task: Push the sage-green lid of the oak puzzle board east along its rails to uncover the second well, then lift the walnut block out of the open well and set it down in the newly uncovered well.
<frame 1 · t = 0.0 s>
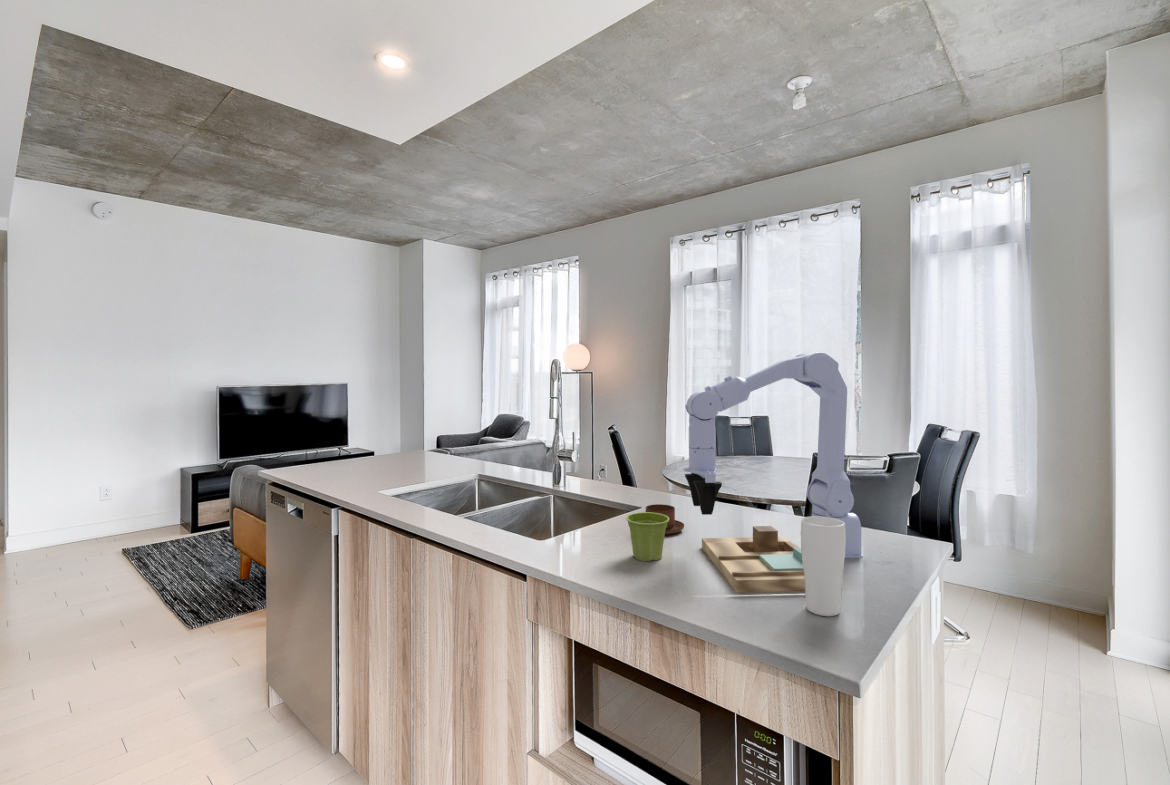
hand: (702, 509, 119), 10 cm above the worktop, tool pointing down, fingers open, 7 cm apart
block: (765, 556, 118), resting on board
board: (765, 567, 112), on the worktop
cup and saucer: (660, 532, 140), on the worktop
drinking glass: (822, 612, 91), on the worktop
lid: (787, 559, 106), point 4 cm above the worktop, slide at 0.0 cm
plant pot: (647, 558, 119), on the worktop
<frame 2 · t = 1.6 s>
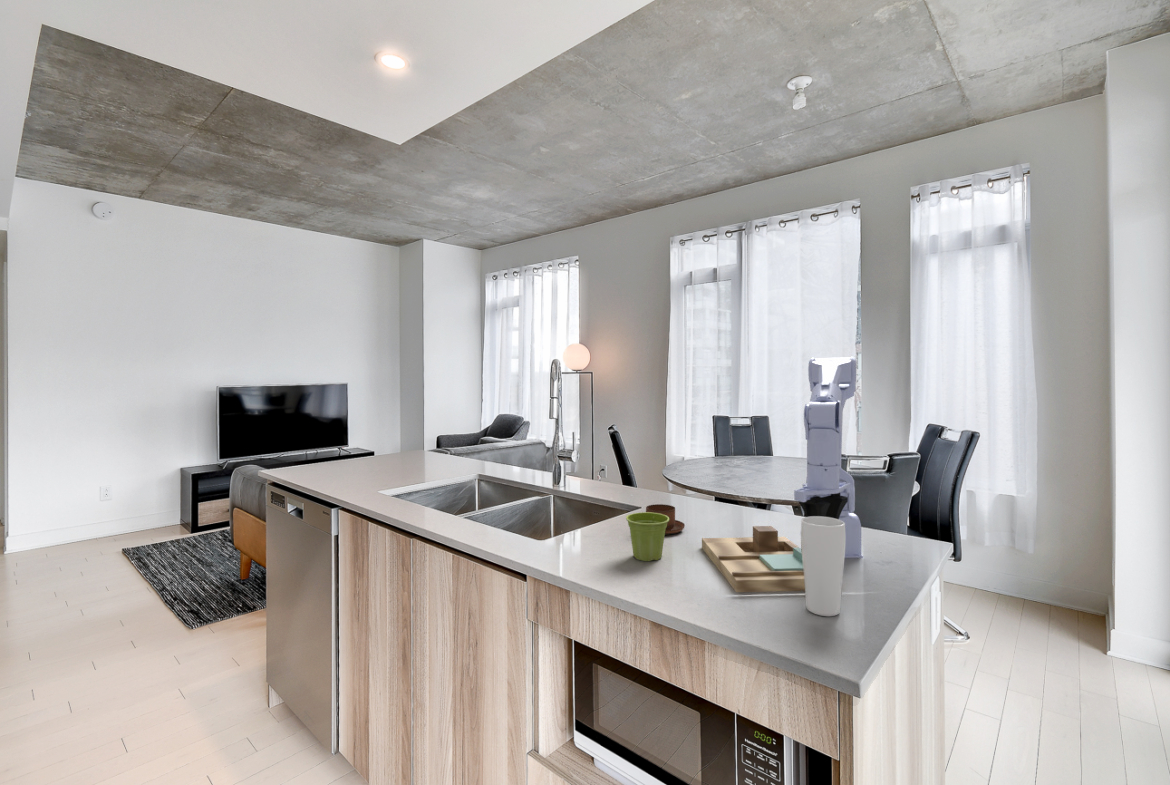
hand: (822, 534, 106), 8 cm above the worktop, tool pointing down, fingers open, 3 cm apart
nothing on the worktop moved.
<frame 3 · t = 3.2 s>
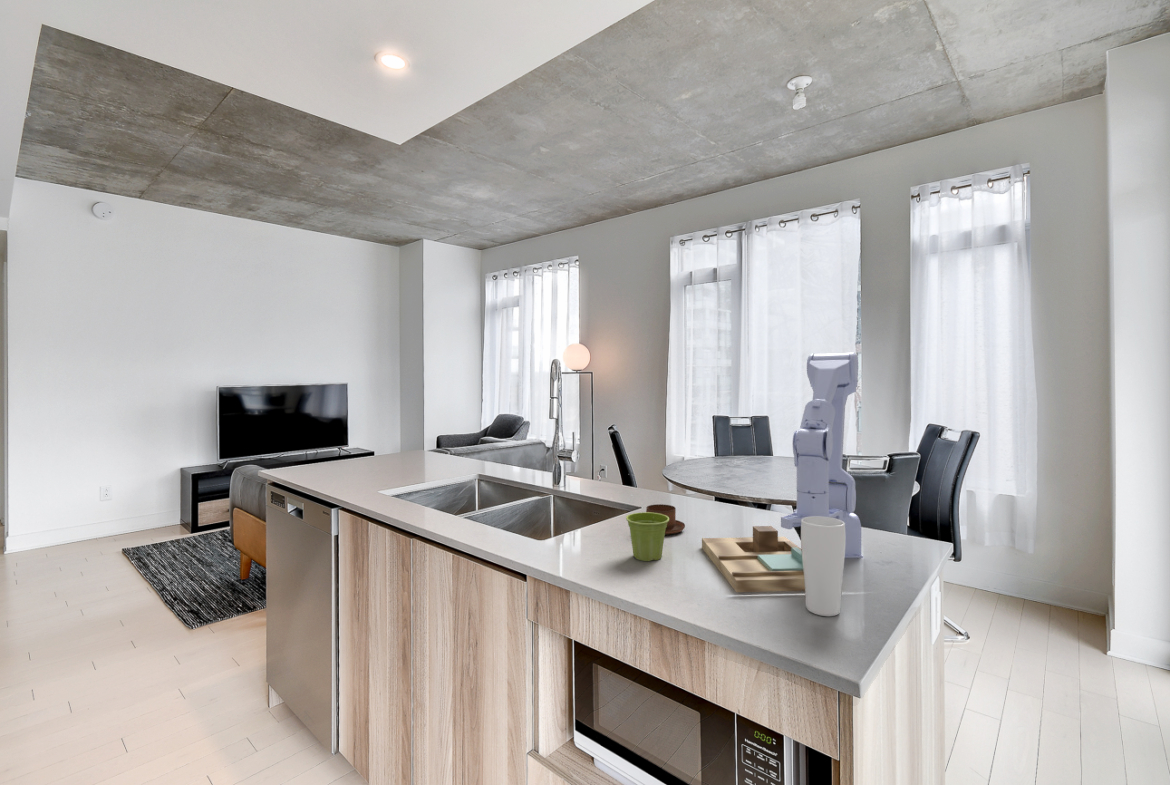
hand: (812, 561, 106), 3 cm above the worktop, tool pointing down, fingers closed
lid: (785, 559, 106), point 4 cm above the worktop, slide at 0.4 cm, touching gripper
everything else where it was.
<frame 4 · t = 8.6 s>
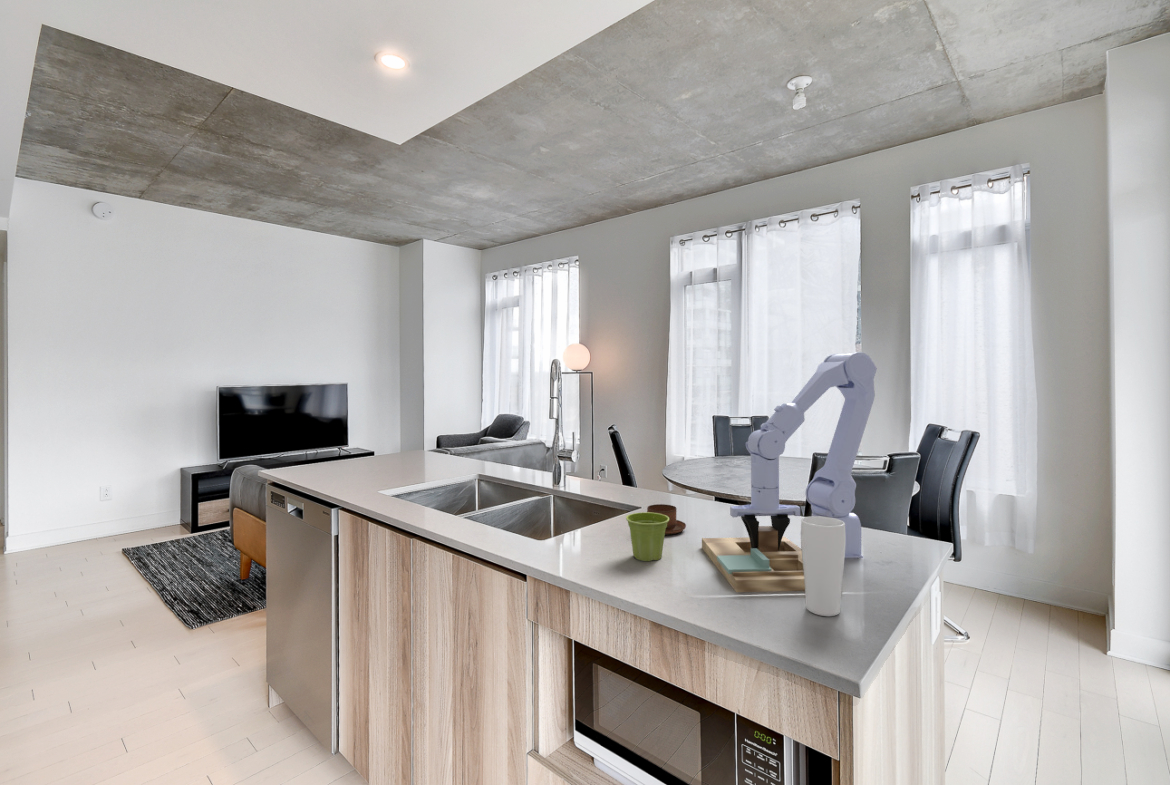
hand: (765, 549, 118), 2 cm above the worktop, tool pointing down, fingers closed on block, 4 cm apart
block: (765, 556, 118), resting on board, touching gripper
lid: (743, 560, 106), point 4 cm above the worktop, slide at 8.5 cm
everything else where it was.
when the fingers open (4 cm above the worktop, at t = 11.7 s): block drops 2 cm, resting on board.
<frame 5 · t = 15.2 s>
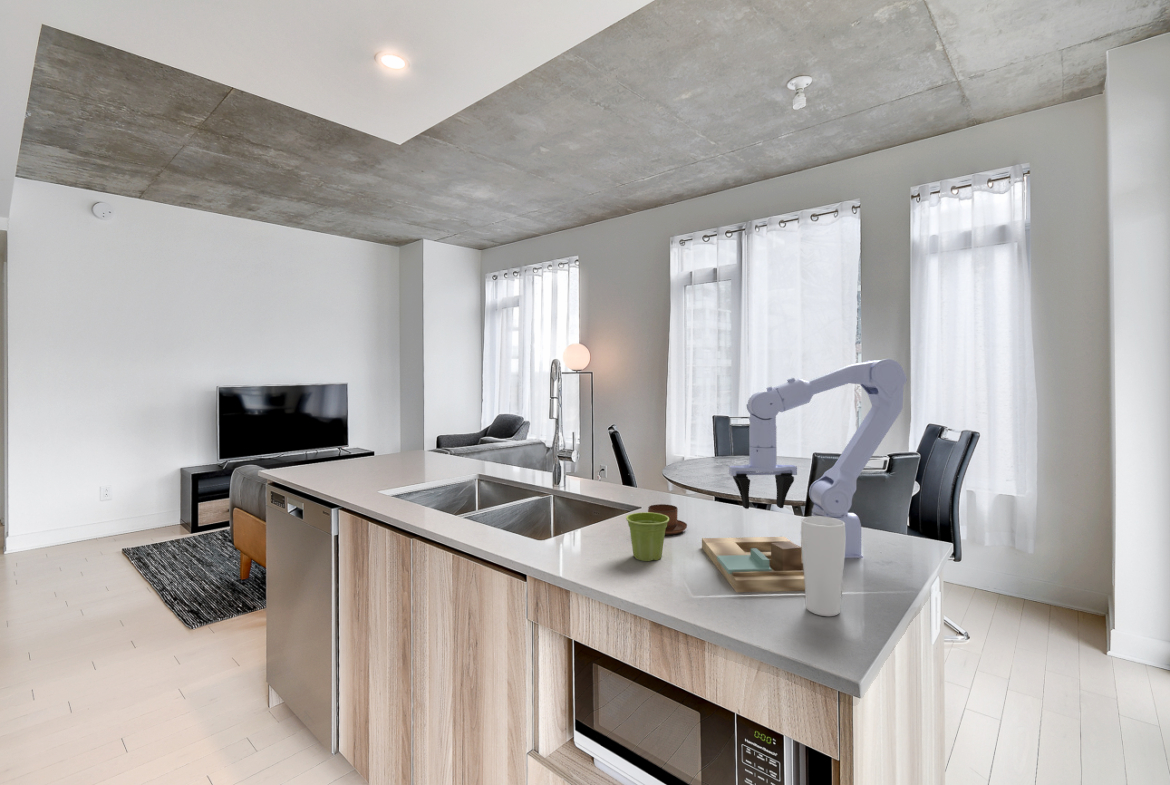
hand: (763, 507, 122), 10 cm above the worktop, tool pointing down, fingers open, 7 cm apart
block: (786, 575, 106), resting on board
everything else where it was.
at the end: lid slide at 8.5 cm; block 1.6 cm from the target spot, resting on board; the gripper is holding nothing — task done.
